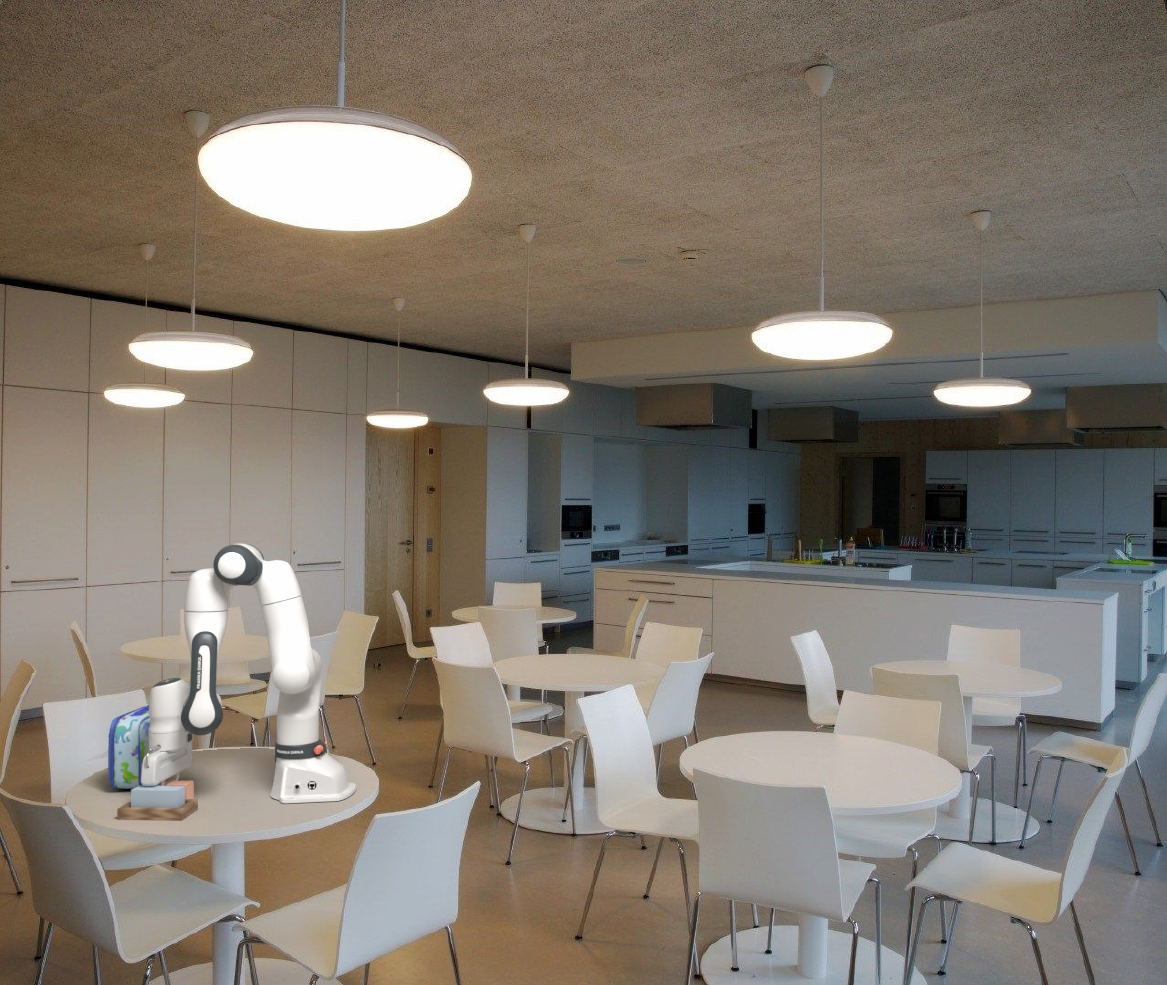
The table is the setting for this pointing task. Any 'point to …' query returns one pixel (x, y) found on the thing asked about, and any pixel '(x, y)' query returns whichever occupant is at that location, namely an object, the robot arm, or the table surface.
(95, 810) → the table surface
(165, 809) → the jig
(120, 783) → the lunch box
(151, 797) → the pale blue upright slab
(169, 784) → the salmon orange rectangular block
